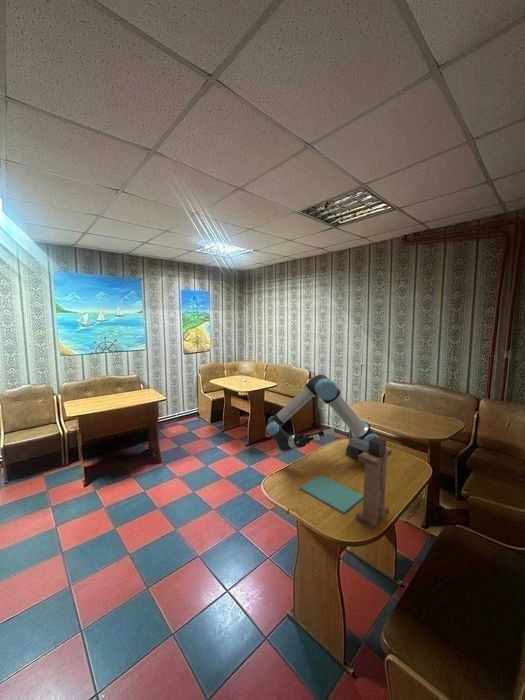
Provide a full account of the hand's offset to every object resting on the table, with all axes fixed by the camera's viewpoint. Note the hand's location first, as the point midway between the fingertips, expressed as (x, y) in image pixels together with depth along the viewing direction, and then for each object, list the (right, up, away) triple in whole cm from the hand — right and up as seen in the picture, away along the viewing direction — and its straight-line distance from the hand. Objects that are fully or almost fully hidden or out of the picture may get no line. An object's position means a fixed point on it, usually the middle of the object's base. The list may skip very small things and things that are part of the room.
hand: (326, 433), depth 151 cm
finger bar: (+14, -1, -21) cm, 25 cm away
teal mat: (+2, -30, -4) cm, 30 cm away
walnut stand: (+17, -31, -20) cm, 41 cm away
